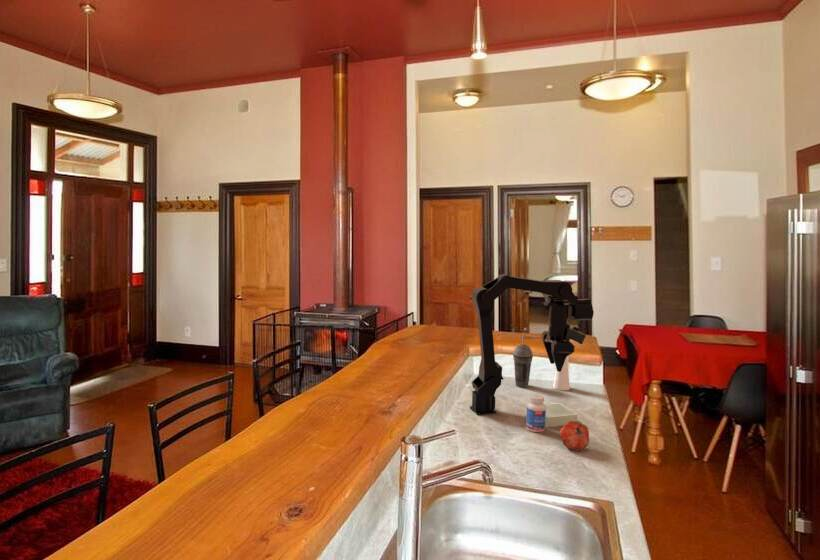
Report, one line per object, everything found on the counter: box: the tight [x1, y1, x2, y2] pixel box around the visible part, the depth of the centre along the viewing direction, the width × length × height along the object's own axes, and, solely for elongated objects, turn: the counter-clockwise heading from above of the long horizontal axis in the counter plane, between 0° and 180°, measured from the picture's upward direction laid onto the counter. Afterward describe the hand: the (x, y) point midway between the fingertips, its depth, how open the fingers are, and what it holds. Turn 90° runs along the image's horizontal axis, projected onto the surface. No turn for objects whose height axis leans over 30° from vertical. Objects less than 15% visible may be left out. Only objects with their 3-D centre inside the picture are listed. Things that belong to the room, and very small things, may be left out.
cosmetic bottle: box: [552, 340, 571, 391], centre depth 180 cm, size 6×6×22 cm
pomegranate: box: [559, 421, 590, 451], centre depth 131 cm, size 7×7×10 cm
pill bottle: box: [525, 394, 546, 433], centre depth 143 cm, size 6×5×10 cm
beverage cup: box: [512, 332, 534, 389], centre depth 183 cm, size 7×7×20 cm
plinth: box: [544, 402, 578, 428], centre depth 151 cm, size 10×10×3 cm
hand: (555, 367), depth 159 cm, fingers open, 9 cm apart
